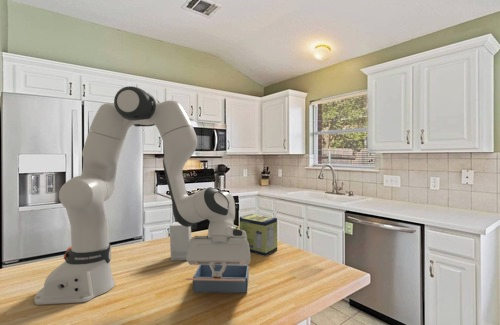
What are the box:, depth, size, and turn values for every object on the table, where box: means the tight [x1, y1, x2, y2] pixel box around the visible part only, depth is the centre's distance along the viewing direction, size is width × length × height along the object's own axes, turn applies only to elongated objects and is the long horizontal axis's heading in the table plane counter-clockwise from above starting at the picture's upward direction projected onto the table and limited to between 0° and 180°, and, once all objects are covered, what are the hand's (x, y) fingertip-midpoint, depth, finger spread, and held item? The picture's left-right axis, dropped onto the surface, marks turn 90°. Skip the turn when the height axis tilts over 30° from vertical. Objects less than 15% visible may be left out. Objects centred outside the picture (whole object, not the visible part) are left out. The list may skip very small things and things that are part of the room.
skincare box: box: [169, 221, 192, 262], centre depth 122 cm, size 8×7×16 cm
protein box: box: [239, 213, 278, 257], centre depth 133 cm, size 10×16×16 cm
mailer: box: [192, 264, 250, 294], centre depth 97 cm, size 18×11×5 cm, turn 88°
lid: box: [185, 277, 245, 281], centre depth 86 cm, size 17×11×1 cm, turn 88°
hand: (217, 278), depth 84 cm, fingers closed, pressing on lid
